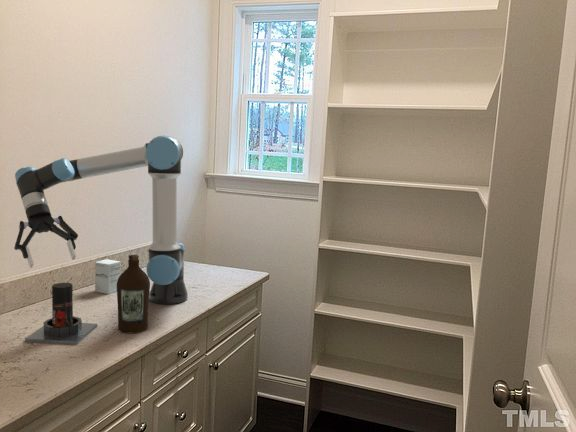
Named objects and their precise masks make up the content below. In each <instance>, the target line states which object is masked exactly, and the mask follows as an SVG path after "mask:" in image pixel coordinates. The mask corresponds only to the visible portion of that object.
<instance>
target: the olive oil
mask: <svg viewBox="0 0 576 432" xmlns="http://www.w3.org/2000/svg"><path fill="white" fill-rule="evenodd" d="M139 258H140V256H139V255H138V254H130V255H128V263H127V264H128V267H127V268H126V269H125V270H124V271H123V272H122V273H120V276H119V278H118V281H117V292H116V298H117V299H116V300H117V325H118V328H117V329H118V331H119V332H121V333H126V334H137V333H142V332H145V331H146V330H147V329H148V326H149V324H148V323H149V307H150V306H149V304H150V300H149V293H150V290H151V280H150V278H149V277H148V275H147V272H145V271H144V270H143V269H142V268H141V267H140V259H139Z"/></svg>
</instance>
